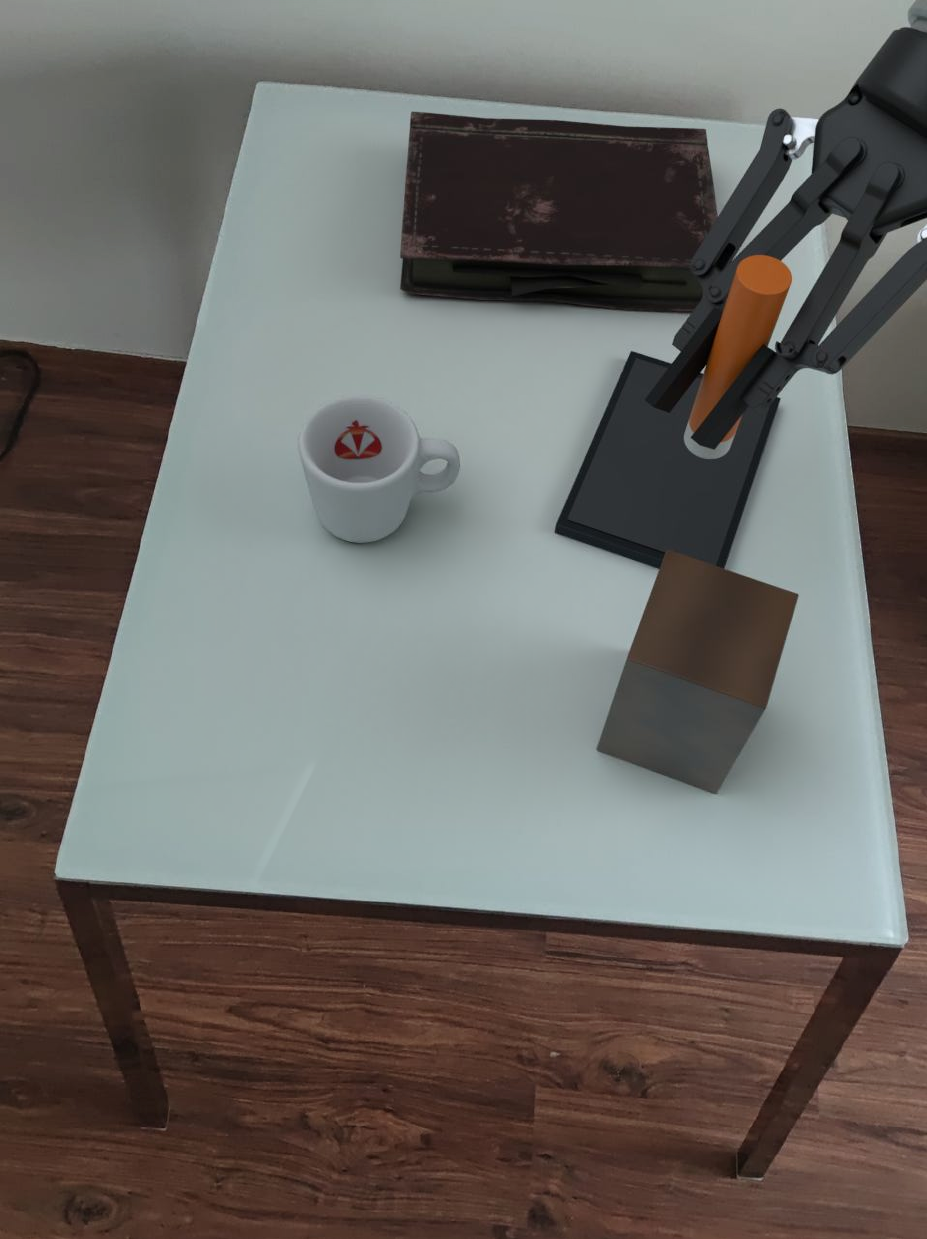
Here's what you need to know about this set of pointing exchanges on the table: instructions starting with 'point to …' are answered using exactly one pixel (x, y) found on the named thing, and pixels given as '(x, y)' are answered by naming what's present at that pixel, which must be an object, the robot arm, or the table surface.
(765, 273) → the orange cylinder
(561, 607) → the table surface
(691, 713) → the tall brown-topped block
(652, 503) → the tablet
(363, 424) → the cup
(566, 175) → the diary
